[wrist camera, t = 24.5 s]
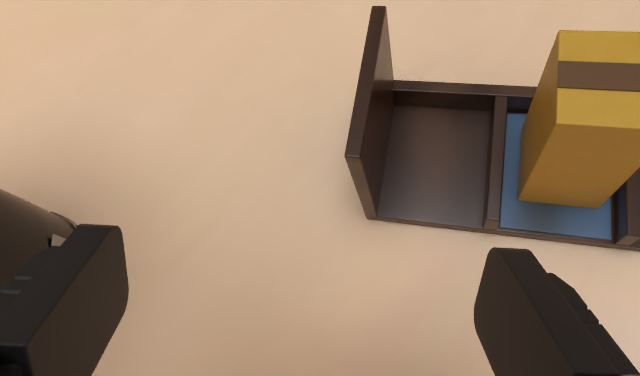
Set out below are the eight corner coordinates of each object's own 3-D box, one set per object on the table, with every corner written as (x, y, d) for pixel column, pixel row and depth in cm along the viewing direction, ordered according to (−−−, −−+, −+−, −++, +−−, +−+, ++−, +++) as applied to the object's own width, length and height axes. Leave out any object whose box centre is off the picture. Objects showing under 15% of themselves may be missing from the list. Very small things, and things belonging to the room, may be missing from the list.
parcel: (516, 200, 30) (556, 122, 21) (520, 129, 32) (559, 28, 23) (598, 209, 29) (677, 130, 20) (598, 135, 31) (671, 30, 22)
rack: (366, 218, 33) (343, 156, 24) (385, 100, 36) (371, 5, 27) (772, 267, 27) (946, 209, 18) (754, 122, 30) (895, 10, 21)
